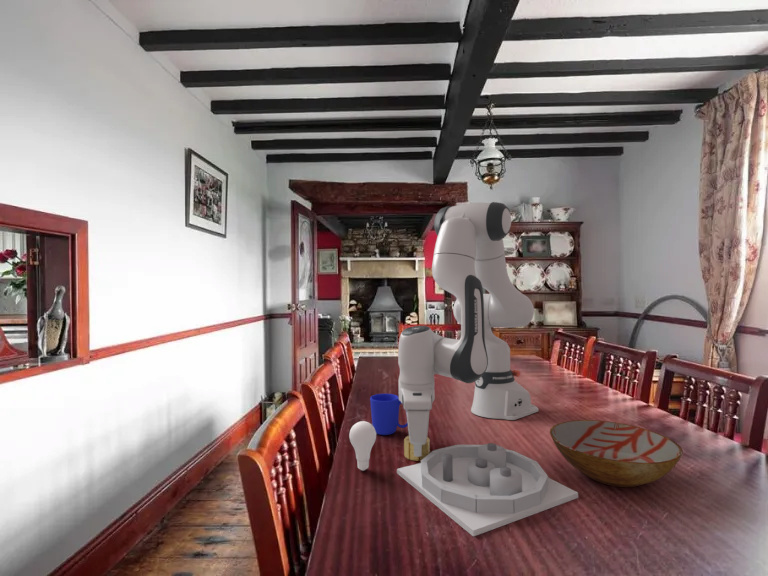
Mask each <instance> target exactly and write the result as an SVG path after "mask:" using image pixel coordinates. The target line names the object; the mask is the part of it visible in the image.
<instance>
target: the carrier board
mask: <svg viewBox="0 0 768 576" xmlns="http://www.w3.org/2000/svg"><path fill="white" fill-rule="evenodd" d="M396 474H397V475H398V476H400V478H402V479H404V481H406V482H407V483H408V484H409V485H411V486H412V487H413V488H414V489H416V491H418V492H419V493H420V494H421V495H423V497H424V498H426V499H427V500H429V501H430V502H431V503H432V504H433V505H435V506H436V507H437V508H438V509H440V510H441V511H442V512H443V513H444V514H445V515H447V517H449V518H450V519H452V521H454V522H455V523H456V524H457V525H459V526H460V527H461V528H463V530H465V531H466V532H467V533H468V534H470V535H471V536H472V537H477V536H479V535H482V534H484V533H487V532H489V531H492V530H494V529H497V528H501V527H503V526H505V525H508V524H511V523H514V522H516V521H519V520H521V519H524V518H527V517H531V516H533V515H536V514H538V513H541V512H543V511H547V510H548V509H552V508H554V507H557V506H560V505H563V504H565V503H568V502H570V501H573V500H576V499H579V492H578V491H576V490H574V489H572V488H570V487H568V486H566V485H564V484H562V483H560V482H558V481H556V480H554V479H552V478H551V477H549V476H548V474H547V473H546V472H545V471H544V469H543V468H542V466H541V465H540V464H539V462H538V461H536V460H534V459H533V458H531V457H528V456H526V455H524V454H521V453H520V452H517V451H515V450H513V449H512V450H511V449H507V448H505V447H504V446H501V445H498V444H496V443H493V442H489V443H485V444H454V445H450V446H446V447H442V448H438V449H433V450H432V451H430V454H428V455H427V456H426V457H425V458H423V459H422V460H421V461H420V462H419V463H415V464H411V465H407V466H401V467H400V468H397V469H396Z"/></svg>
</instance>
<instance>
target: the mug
mask: <svg viewBox="0 0 768 576" xmlns="http://www.w3.org/2000/svg"><path fill="white" fill-rule="evenodd" d="M369 401H370V411H371V412H370V413H371V424H372V426H373V427H374V428H375V431H376V435H380V436H389V435H392V434H394V433H395V432H396V431H397V428H400V429H401V428H402V429H405V428H408V423H407V422H405V423H404V424H400V423H399V414H400V405H402V403H401V401H399V395H397V394H393V393H376V394H374V395H371V396H370V398H369Z"/></svg>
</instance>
